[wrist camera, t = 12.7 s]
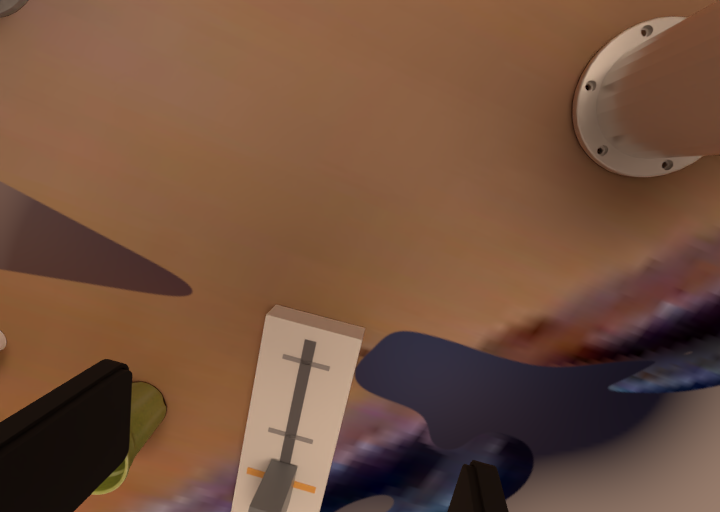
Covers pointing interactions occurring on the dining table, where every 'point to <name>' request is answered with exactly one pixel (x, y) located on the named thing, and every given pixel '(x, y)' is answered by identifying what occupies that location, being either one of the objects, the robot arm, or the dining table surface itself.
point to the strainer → (2, 341)
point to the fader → (274, 488)
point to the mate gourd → (10, 6)
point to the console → (297, 403)
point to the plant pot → (137, 429)
